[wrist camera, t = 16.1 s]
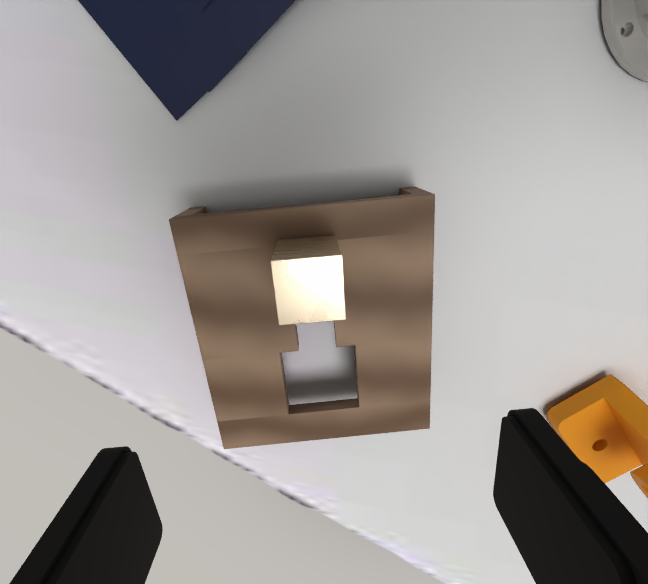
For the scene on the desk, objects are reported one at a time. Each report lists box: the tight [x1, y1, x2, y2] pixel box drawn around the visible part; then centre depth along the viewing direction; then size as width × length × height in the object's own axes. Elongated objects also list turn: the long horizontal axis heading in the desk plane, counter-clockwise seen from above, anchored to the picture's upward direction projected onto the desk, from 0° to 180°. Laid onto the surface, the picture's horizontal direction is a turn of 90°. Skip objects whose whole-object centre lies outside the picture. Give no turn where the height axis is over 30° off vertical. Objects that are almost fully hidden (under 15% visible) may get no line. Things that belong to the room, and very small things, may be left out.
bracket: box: [547, 374, 648, 498], centre depth 34 cm, size 11×7×12 cm, turn 37°
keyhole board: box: [169, 187, 435, 449], centre depth 31 cm, size 20×18×5 cm
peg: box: [271, 235, 346, 325], centre depth 26 cm, size 4×4×10 cm
